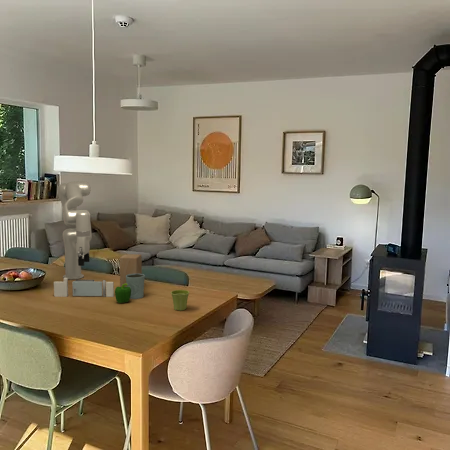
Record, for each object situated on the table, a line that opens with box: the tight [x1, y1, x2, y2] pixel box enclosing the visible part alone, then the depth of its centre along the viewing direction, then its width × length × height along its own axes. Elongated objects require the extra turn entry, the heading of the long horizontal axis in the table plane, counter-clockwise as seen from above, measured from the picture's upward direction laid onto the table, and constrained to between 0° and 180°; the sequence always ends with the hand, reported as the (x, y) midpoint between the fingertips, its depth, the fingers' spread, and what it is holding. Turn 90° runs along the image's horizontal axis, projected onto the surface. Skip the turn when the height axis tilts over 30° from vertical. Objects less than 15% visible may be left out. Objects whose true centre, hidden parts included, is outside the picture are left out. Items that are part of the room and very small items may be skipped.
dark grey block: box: [74, 279, 95, 282], centre depth 252 cm, size 7×10×6 cm
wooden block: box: [119, 253, 143, 287], centre depth 257 cm, size 10×10×20 cm
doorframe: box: [53, 278, 115, 298], centre depth 243 cm, size 2×32×10 cm, turn 91°
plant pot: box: [170, 289, 190, 312], centre depth 224 cm, size 9×9×9 cm
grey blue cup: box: [126, 273, 146, 300], centre depth 244 cm, size 10×10×12 cm
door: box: [71, 280, 103, 297], centre depth 243 cm, size 16×2×8 cm, turn 91°
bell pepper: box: [114, 284, 131, 304], centre depth 234 cm, size 8×8×10 cm
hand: (84, 263), depth 252 cm, fingers open, 9 cm apart
